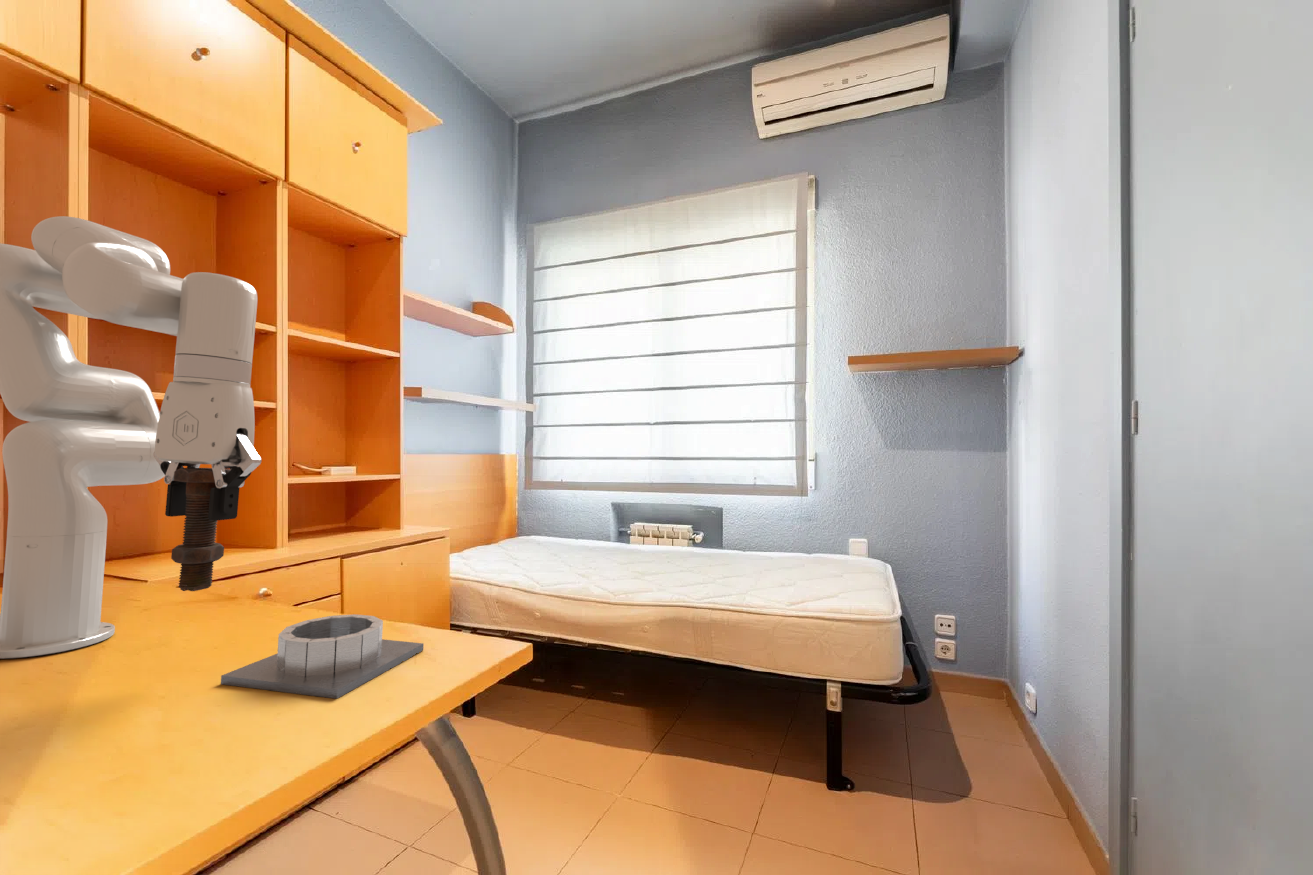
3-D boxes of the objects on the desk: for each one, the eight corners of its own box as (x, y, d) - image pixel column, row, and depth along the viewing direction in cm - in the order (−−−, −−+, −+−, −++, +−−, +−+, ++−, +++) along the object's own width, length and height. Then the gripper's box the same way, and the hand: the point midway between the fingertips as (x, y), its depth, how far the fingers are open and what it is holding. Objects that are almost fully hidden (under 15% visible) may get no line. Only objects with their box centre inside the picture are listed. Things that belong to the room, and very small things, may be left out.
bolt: (156, 589, 65) (167, 467, 66) (204, 581, 70) (214, 467, 70) (184, 596, 63) (195, 470, 64) (232, 588, 68) (242, 470, 68)
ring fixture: (220, 683, 64) (223, 641, 64) (326, 640, 79) (328, 606, 80) (336, 698, 61) (339, 654, 61) (423, 650, 76) (424, 615, 77)
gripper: (125, 367, 65) (111, 515, 65) (242, 371, 62) (229, 526, 61) (189, 377, 73) (177, 509, 72) (296, 380, 69) (285, 519, 69)
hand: (201, 516), depth 67 cm, fingers closed on bolt, 5 cm apart
